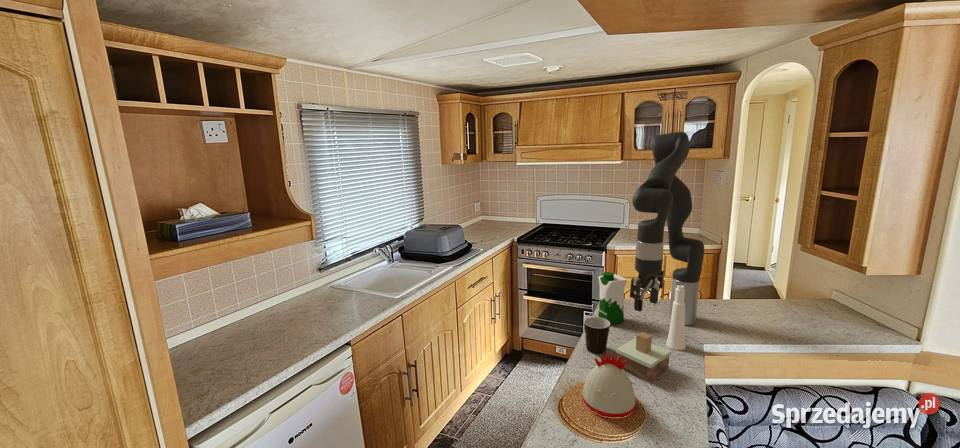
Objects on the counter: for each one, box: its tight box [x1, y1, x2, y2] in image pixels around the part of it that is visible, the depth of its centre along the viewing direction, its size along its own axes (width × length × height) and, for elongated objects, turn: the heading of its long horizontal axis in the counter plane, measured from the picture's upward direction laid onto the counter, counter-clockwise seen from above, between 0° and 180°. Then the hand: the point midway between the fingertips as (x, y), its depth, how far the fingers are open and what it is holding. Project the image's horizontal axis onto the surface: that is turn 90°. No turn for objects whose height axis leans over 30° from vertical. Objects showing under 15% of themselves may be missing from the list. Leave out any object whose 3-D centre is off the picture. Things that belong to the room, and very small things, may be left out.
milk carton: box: [597, 271, 628, 326], centre depth 155 cm, size 9×9×20 cm
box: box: [616, 353, 670, 384], centre depth 124 cm, size 11×11×5 cm
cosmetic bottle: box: [665, 285, 687, 351], centre depth 134 cm, size 6×6×22 cm
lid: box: [615, 331, 672, 368], centre depth 122 cm, size 12×12×6 cm
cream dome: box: [581, 350, 636, 417], centre depth 107 cm, size 14×14×15 cm
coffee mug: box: [583, 316, 611, 355], centre depth 134 cm, size 12×9×10 cm
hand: (645, 306), depth 120 cm, fingers open, 8 cm apart
